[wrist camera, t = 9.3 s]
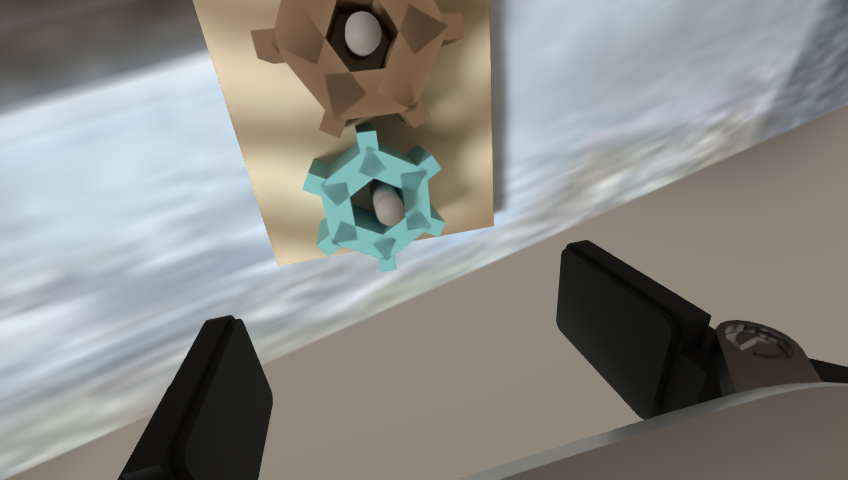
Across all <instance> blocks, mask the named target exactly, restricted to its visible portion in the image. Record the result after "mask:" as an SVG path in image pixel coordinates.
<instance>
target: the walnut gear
mask: <svg viewBox="0 0 848 480" xmlns="http://www.w3.org/2000/svg"><path fill="white" fill-rule="evenodd" d="M360 11H364V12H370V13H371V14H372V15H373V16H374V17H375V18H376V19H377V21H378V22H379V25H380V27H381V30H382V31H383V33H384V34H385V36H386V37H387V39H388V40H389V43H388V46H387V49H386V52H385V55H384V57H383V60H382V63H381V66H380V69H375V70H366V71H357V72H350V71H349V70H348V68H347V67H346V66H345V64H344V63H343V62H342V60H341V59H340V58H339V56H338V55H337V54H336V52H335V51H334V50H333V48H332V47H331V45H330V44H329V43H330V40H331V37H332V34H333V30H334V27H335V24H336V21H337V17H338V15H339V14H351V13H356V12H360ZM250 32H251V36H252V39H253V43H254V47H255V50H256V54H257V58H258V59H261V60H264V61H267V62H269V63H272V64H278V63H287V64H288V66H289V67H290V68H291V69H292V70H293V72H294V73H295V74H296V75H297V77H298V78H299V79H300V80H301V81H302V83H303V84H304V85H305V86H306V88H307V89H308V90H309V91H310V92H311V94H312V95H313V96H314V97H315V99H316V100H317V101H318V102H319V103H320V105H321V106H322V107H323V108H324V110H325V112H324V115H323V118H322V122H321V125H320V128H319V130H320V131H322V132H325V133H327V134H330V135H332V136H335V137H337V138H341V135H342V132H343V129H344V126H345V123H346V120H347V119H355V118H363V117H370V116H378V115H386V114H394V113H397V114H398V116H399V117H400V119H401V120H402V121H403V122H404V123H406V124H407V125H409V126H411V127H413V128H414V129H415V128H416V127H417V126H418V125H420V124H421V123H422V122H423V121H425V120H426V119H427V118H428V117H430V116H431V115H430V113H429V112H428V110H427V109H426V107H425V106H424V104H423V103H422V101H421V100H420V97H421V95H422V92H423V90H424V87H425V85H426V82H427V80H428V77H429V75H430V72H431V70H432V67H433V64H434V62H435V59H436V57H437V54H438V52H439V49H440V47H443V46H446V45H448V44H450V43H453V42H455V41H458V40H460V39H463V30H462V12H457V13H445V14H441V12H440V11H439V9H438V7H437V5H436V4H435V2H434V0H281V3H280V7H279V11H278V15H277V18H276V22H275V26H274V28H271V29H260V30H250Z"/></svg>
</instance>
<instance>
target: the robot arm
mask: <svg viewBox="0 0 848 480" xmlns="http://www.w3.org/2000/svg"><path fill="white" fill-rule="evenodd" d="M710 319H711V315H710V314H708V313H706V312H705V311H703V310H701V309H700V308H698V307H696V306H695V305H693V304H692V303H690V302H688V301H687V300H685V299H684V298H682V297H680V296H679V295H677V294H675V293H674V292H672V291H670V290H669V289H667V288H666V287H664V286H662V285H661V284H659V283H657V282H656V281H654V280H652V279H651V278H649V277H648V276H646V275H644V274H642V273H641V272H639V271H638V270H636V269H634V268H633V267H631V266H629V265H628V264H626V263H625V262H623V261H621V260H620V259H618V258H616V257H615V256H613V255H611V254H610V253H608V252H606V251H605V250H603V249H602V248H600V247H599V246H597V245H595V244H593V243H592V242H590V241H588V240H584V241H579V242H574V243H570V244H568V245H567V246H566V249H564V250H563V251H562V254H561V266H560V278H559V291H558V304H557V317H556V322H557V325H558V328H559V330H560V331H561V332H562V333H563V334H564V335H565V336H566V338H567V339H569V341H570V342H571V343H572V344H573V345H574V346H575V347H576V348H577V349H578V351H579V352H580V353H581V354H582V355H583V356H584V357H585V358H586V359H587V360H588V361H589V363H590V364H591V365H592V366H593V367H594V368H595V369H596V370H597V371H598V372H599V373H600V375H601V376H602V377H603V378H604V379H605V380H606V381H607V382H608V383H609V384H610V386H611V387H612V388H613V389H614V390H615V391H616V392H617V393H618V394H619V395H620V396H621V397H622V399H623V400H624V401H625V402H626V403H627V404H628V405H629V406H630V407H631V408H632V409H633V410H634V411H635V413H636V414H637V415H638V416H639V417H641V418H642V419H644V420H643V421H640V422H637V423H634V424H630V425H627V426H624V427H621V428H618V429H614V430H612V431H608V432H605V433H601V434H598V435H595V436H592V437H589V438H585V439H582V440H579V441H576V442H573V443H570V444H566V445H563V446H560V447H557V448H554V449H551V450H548V451H544V452H541V453H538V454H535V455H532V456H528V457H526V458H523V459H519V460H516V461H513V462H510V463H506V464H503V465H500V466H497V467H494V468H491V469H488V470H484V471H481V472H478V473H475V474H472V475H469V476H466V477H463V478H459V479H456V480H848V367H845V366H841V365H836V364H832V363H828V362H823V361H819V360H814V359H810V358H808V357H807V356H806V354H805V353H804V351H803V349H802V348H801V347H800V346H799V345H798V343H796V341H794V340H793V339H791V338H790V337H789V336H787V335H786V334H783V333H782V332H779V331H778V330H776V329H773V328H771V327H768V326H765V325H762V324H759V323H754V322H750V321H741V320H731V321H725V322H723V323H720V324H719V325H718V326H717V328H716V330H715V329H713V328H712V327H710V326H709V322H710ZM272 404H273V398H272V392H271V389H270V386H269V384H268V381H267V379H266V377H265V374H264V372H263V369H262V367H261V364H260V362H259V359H258V357H257V354H256V352H255V350H254V347H253V345H252V342H251V340H250V337H249V335H248V332H247V330H246V327H245V325H244V323H243V321H242V320H241V319H236V320H235V318H234V317H233V316H231V315H229V316H224V317H219V318H214V319H210V320H207V321H206V322H205V323H204V325H203V326H202V328H201V330H200V332H199V334H198V336H197V337H196V339H195V341H194V343H193V345H192V347H191V348H190V350H189V352H188V354H187V356H186V358H185V359H184V361H183V363H182V365H181V367H180V368H179V370H178V372H177V374H176V376H175V378H174V379H173V381H172V383H171V385H170V386H169V387H168V389H167V391H166V393H165V394H164V396H163V398H162V400H161V402H160V403H159V405H158V407H157V409H156V411H155V413H154V414H153V416H152V418H151V420H150V422H149V423H148V425H147V427H146V429H145V431H144V433H143V434H142V436H141V438H140V440H139V442H138V444H137V445H136V447H135V449H134V451H133V453H132V455H131V456H130V458H129V460H128V462H127V464H126V466H125V468H124V469H123V471H122V473H121V474H120V476H119V478H118V480H258V477H259V471H260V467H261V462H262V456H263V451H264V446H265V440H266V436H267V431H268V425H269V420H270V415H271V410H272Z"/></svg>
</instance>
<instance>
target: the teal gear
mask: <svg viewBox="0 0 848 480" xmlns="http://www.w3.org/2000/svg"><path fill="white" fill-rule="evenodd" d="M355 131H356V137H357V143H356V144H355V145H354V146H352V147H351V148H350V149H349V150H347V151H346V152H345V153H344V154H342V155H341V156H340V157H339V158H337V159H336V160H335V161H334V162H332V163H331V164H330V165H329V164H326V163H323V162H321V161H318V160H315V159H313V162H312V164H311V166H310V169H309V171H308V174H307V177H306V180H305V183H304V186H303V189H302V190H304V191H307V192H310V193H312V194H315V195H318V196H321V198H322V203H323V207H324V211H325V215H326V218H324V219H323V220H322V221H320V227H319V233H318V239H317V245H316V246H317V247H318V248H319V249H321V250H322V251H323V252H324V253H325V254H326V255H327V256H328V257H329V256H330V255H332V254H333V253H334V252H335V251H337V250H338V249H339V248H341V247H345V248H348V249H351V250H355V251H358V252H361V253H364V254H368V255H371V256H374V257H378V260H379V265H380V270H381V272H385V271H390V270H395V269H397V267H396V261H395V254H396V253H398V252H399V251H400V250H401V249H403V248H404V247H405V246H407V245H408V244H409V243H411V242H412V241H413V240H415V239H416V238H417V237H419V236H420V235H421V234H422V233H424V232H426V233H429V234H432V235H434V236H437V237H439V236H440V234H441V232H442V230H443V228H444V226H445V224H446V222H445V221H444V220H443V218H442V217H441V216H440V214H439V213H438V212H437V211H436V209H435V208H434V207H433V205H432V204H431V203H430V201H429V191H428V181H427V180H428V179H429V178H431V177H432V176H433V175H435V174H436V173H437V172H438V171H440V170H441V167H440V166H439V164H438V163H437V162H436V160H435V159H434V157H433V156H432V155H431V154H430V153H429V152H427V151H426V150H425V149H423V148H422V147H421V146H419V145H417V146H415V147H414V148H413V149H412V150H410V151H409V152H408V153H407V154H404V153H402V152H400V151H397V150H395V149H392V148H390V147H388V146H385V145H383V144H381V143H378V142H377V135H376V130H375V129H374V128H373V126H372V125H371V124H364V125H356V126H355ZM373 178H375V179H378V180H380V181H383V182H386V183H388V184H391V185H393V186H395V189H396V191H397V193H398V195H399V197H400V199H401V201H402V203H403V205H404V207H405V216H404V218H403V220H402V221H401V222H400V223H398V224H396V225H392V226H388V225H385V224H383V223H381V222H380V221H379V219H378V218H377V214H376V213H375V212H373V211H370V210H367V209H364V208H361V207H358V206H355V205H353V200H352V195H353V194H354V193H355V192H357V191H358V190H359V189H361V188H362V187H363V186H364V185H366V184H367V183H368V182H369V181H371V180H372V179H373Z"/></svg>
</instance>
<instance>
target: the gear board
mask: <svg viewBox="0 0 848 480" xmlns="http://www.w3.org/2000/svg"><path fill="white" fill-rule="evenodd" d="M434 2H435V4H436V5H437V7H438V9H439V11H440V12H441V14H445V13H457V12H462V30H463V39H460V40H458V41H455V42H453V43H450V44H448V45H446V46H443V47H440V49H439V52H438V54H437V57H436V59H435V62H434V64H433V67H432V70H431V72H430V75H429V77H428V80H427V82H426V85H425V87H424V90H423V92H422V95H421V97H420V100H421V101H422V103H423V104H424V106H425V107H426V109H427V110H428V112H429V113H430V115H431V116H430V117H428V118H427V119H426V120H425V121H423V122H422V123H421V124H420V125H418V126H417V127H416V128H415V129H414V128H413V127H411V126H409V125H407V124H406V123H404V122H403V121H402V120H401V119H400V117H399V116H398V114H397V113H394V114H386V115H378V116H370V117H363V118H355V119H347V120H346V123H345V126H344V129H343V132H342V135H341V138H337V137H335V136H332V135H330V134H327V133H325V132H322V131H320V130H319V128H320V125H321V122H322V118H323V115H324V112H325V110H324V108H323V107H322V106H321V105H320V103H319V102H318V101H317V100H316V99H315V97H314V96H313V95H312V94H311V92H310V91H309V90H308V89H307V88H306V86H305V85H304V84H303V83H302V81H301V80H300V79H299V78H298V77H297V75H296V74H295V73H294V72H293V70H292V69H291V68H290V67H289V66H288V64H287V63H278V64H272V63H269V62H267V61H264V60H261V59H258V58H257V54H256V50H255V47H254V43H253V39H252V36H251V32H250V30H260V29H271V28H274V26H275V22H276V18H277V15H278V11H279V7H280V3H281V0H193V3H194V6H195V9H196V12H197V15H198V18H199V22H200V25H201V28H202V31H203V34H204V37H205V40H206V43H207V46H208V50H209V53H210V56H211V59H212V62H213V65H214V68H215V71H216V74H217V78H218V81H219V84H220V87H221V90H222V93H223V96H224V99H225V102H226V106H227V109H228V112H229V115H230V118H231V121H232V124H233V127H234V130H235V134H236V137H237V140H238V143H239V146H240V149H241V152H242V155H243V158H244V162H245V165H246V168H247V171H248V174H249V177H250V180H251V183H252V186H253V189H254V193H255V196H256V199H257V202H258V205H259V208H260V211H261V214H262V217H263V221H264V224H265V227H266V230H267V233H268V236H269V239H270V242H271V245H272V249H273V252H274V255H275V258H276V261H277V264H278V266H280V265H285V264H291V263H296V262H301V261H307V260H312V259H318V258H323V257H328V256H327V255H326V254H325V253H324V252H323V251H322V250H321V249H319V248H318V247H317V246H316V245H317V239H318V233H319V227H320V221H322V220H323V219H324V218H326V215H325V211H324V207H323V203H322V198H321V196H318V195H315V194H312V193H310V192H307V191H304V190H302V189H303V186H304V183H305V180H306V177H307V174H308V171H309V169H310V166H311V164H312V162H313V159H315V160H318V161H321V162H323V163H326V164H329V165H330V164H331V163H332V162H334V161H335V160H336V159H337V158H339V157H340V156H341V155H342V154H344V153H345V152H346V151H347V150H349V149H350V148H351V147H352V146H354V145H355V144H356V143H357V137H356V131H355V126H356V125H364V124H371V125H372V126H373V128H374V129H375V130H376V135H377V142H378V143H381V144H383V145H385V146H388V147H390V148H392V149H395V150H397V151H400V152H402V153H404V154H407V153H408V152H409V151H410V150H412V149H413V148H414V147H415V146H417V145H419V146H421V147H422V148H423V149H425V150H426V151H427V152H429V153H430V154H431V155H432V156H433V157H434V159H435V160H436V162H437V163H438V164H439V166H440V167H441V170H440V171H438V172H437V173H436V174H435V175H433V176H432V177H431V178H429V179H428V180H427V181H428V191H429V201H430V203H431V204H432V205H433V207H434V208H435V209H436V211H437V212H438V213H439V214H440V216H441V217H442V218H443V220H444V221H445V222H446V224H445V226H444V228H443V230H442V232H441V234H440V236H443V235H448V234H453V233H459V232H464V231H470V230H475V229H480V228H486V227H491V226H494V216H493V165H492V114H491V63H490V12H489V0H434ZM388 43H389V40H388V39H387V37H386V36H385V34H384V33H383V31H382V30H381V27H380V25H379V22H378V21H377V19H376V18H375V17H374V16H373V15H372V14H371V13H370V12H364V11H360V12H356V13H351V14H339V15H338V17H337V21H336V24H335V27H334V30H333V34H332V37H331V40H330V43H329V44H330V45H331V47H332V48H333V50H334V51H335V52H336V54H337V55H338V56H339V58H340V59H341V60H342V62H343V63H344V64H345V66H346V67H347V68H348V70H349V71H350V72H357V71H366V70H375V69H380V66H381V63H382V60H383V57H384V55H385V52H386V49H387V46H388ZM352 200H353V205H355V206H358V207H361V208H364V209H367V210H370V211H373V212H375V213H376V214H377V218H378V219H379V221H380V222H381V223H383V224H385V225H388V226H392V225H396V224H398V223H400V222H401V221H402V220H403V218H404V216H405V207H404V205H403V203H402V201H401V199H400V197H399V195H398V193H397V191H396V189H395V186H393V185H391V184H388V183H386V182H383V181H380V180H378V179H375V178H373V179H372V180H371V181H369V182H368V183H367V184H366V185H364V186H363V187H362V188H361V189H359V190H358V191H357V192H355V193H354V194H353V195H352ZM432 237H437V236H434V235H432V234H429V233H426V232H424V233H422V234H421V235H420V236H419V237H417V238H416V239H415V240H421V239H426V238H432ZM415 240H413V241H415ZM350 252H356V251H355V250H351V249H348V248H345V247H341V248H339V249H338V250H337V251H335V252H334V253H333V254H332V255H330V256H334V255H339V254H345V253H350Z"/></svg>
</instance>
